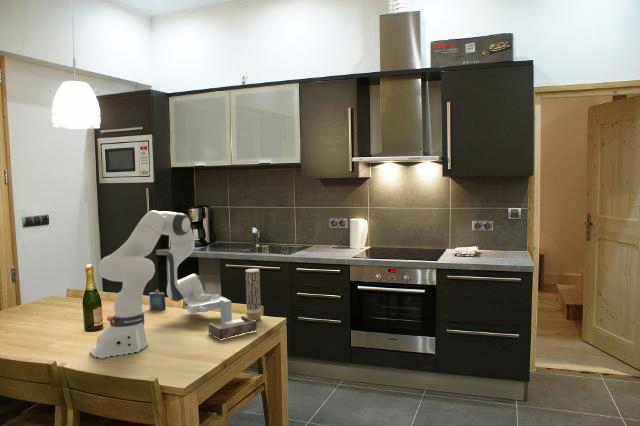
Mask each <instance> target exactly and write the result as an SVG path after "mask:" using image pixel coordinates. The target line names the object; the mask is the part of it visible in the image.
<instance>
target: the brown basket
mask: <svg viewBox="0 0 640 426" xmlns="http://www.w3.org/2000/svg"><path fill="white" fill-rule="evenodd" d="M240 319H241V320H243V321H244V322H245V323H243V324H238V325H234V326H229V327H225V328H221V326H217V324H214V323H212V322H208V324H207V325H208V334H209V333H211V334H212V335H214V336H216V337H218V338H219V339H223V338H228V337H231V336H235V335H239V334H242V333H247V332H251V331H255V330H257V321H254V320H252V319H250V318H248V317H247V316H245V315H241V316H240ZM212 335H211V336H212ZM219 339H218V340H219Z"/></svg>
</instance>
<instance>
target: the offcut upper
mask: <svg viewBox="0 0 640 426" xmlns="http://www.w3.org/2000/svg"><path fill="white" fill-rule="evenodd" d="M243 323H245V322H244V321H243V320H241V318H238V319H232V321H227V322H224V328H225V327H229V326H234V325H238V324H243Z"/></svg>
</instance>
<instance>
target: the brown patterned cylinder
mask: <svg viewBox="0 0 640 426" xmlns="http://www.w3.org/2000/svg"><path fill="white" fill-rule="evenodd" d="M260 275H261V274H260V269H259V268H248V269H247V268H246V269H245V292H246V293H245V294H246V317H248V318H250V319H252V320H258V319H260V318H261V319H262V316H261V315H262V314H261V308H262V307H261V280H260V278H261V276H260ZM261 319H260V320H261ZM258 321H259V320H258Z"/></svg>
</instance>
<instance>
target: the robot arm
mask: <svg viewBox="0 0 640 426" xmlns="http://www.w3.org/2000/svg"><path fill="white" fill-rule="evenodd" d="M191 226H192V222H191V218H190V217H189V216H188V214H186V213H183V212H176V211H175V212H174V211H170V210H169V211H165V210H162V211H158V210H150V211H148V212H147V213H146V214H145V215H143V217H142V218H141V219H140V221H139V222H138V223H137V224H136V226H135V228H134V230H133V231H132V233H131V234H130V236H129V237H128V239H127V240H126V241H125V242H124V243H123V244H122V245H121V246H120V247H119V248H117V249H116V250H115V251H114V252H112V253H110V254H109V255H106V256H103V258H102V259H101V260H100V262H99V263H98V266H97V267H98V270H97V271H98V273H99V276H100V277H101V278H103V279H105V280H108V281H111V282H121V283H122V287H121V291H119V292H118V293H116V294H115V296H114V297H113V305H114V306H113V308H114V315H113V316H111V315H108V316H107V317H106V321H108V322H109V324H110V325H108V326H107V328H105V329H104V330H103V331H102V332H101V333H100V334H99V335H98V336H97V338H96V345H95V346H93V347H92V348H90V355H91V354H92V355H93V356H92V355H91V356H92V357H94V358H96V357H98V358H97V359H106V358H105V357H107V358H111V357H110V356H113V357H117V356H116V355H119V356H124V355H123V354H125V355H129V354H128V353H131V354H135V353H134V352H137V353H140V352H141V351H142V350H143V349H146V348H147V347H148V346H149V341H148V339H147V335H146V331H145V314H144V313H145V312H144V311H143V294H144V290H145V287H146V285H147V284H148V283H149V281H151V280H152V279H153V277H154V276H155V273H156V268H155V264H154V262H153V260H151V259H149V258H146V257H147V256H149V255H150V254H151V253H152V252H153V250H154V249H155V246H156V245H157V243H158V241H159V239H160V238H161V236H162V235H165V236H169V239H170V245H171V246H170V249H169V250H170V251H169V253H168V254H167V255H166V294H167V298H168V299H169V300H170V301H173V302H176V303H178V302H180V301H182V300H183V299H184V302H185V303H186V305H185V306H184V309H186V310H187V311H188V313H190V314H198V313H207V312H209V311H212V310H217V309H221V305H220V300H223V299H227V298H226V297H224V296H220V294H209V293H208V294H207V293H205V292H206V285H205V281H204V279H203V277H201V276H200V275H198V274H197V273H191V274H189V275H187V276H185V277H183V278H180V279H178V267H179V265H180V264H181V263H182V262H183V261H185V260H186V259H187V258H188V257H189V256H190V255H191V254H192V253H193V252H194V250H195V246H196V245H195V243H196V241H195V238H194V234H193V230H192V227H191ZM147 345H148V346H147ZM146 346H147V347H146ZM141 349H142V350H141ZM140 350H141V351H140ZM139 351H140V352H139Z"/></svg>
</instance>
